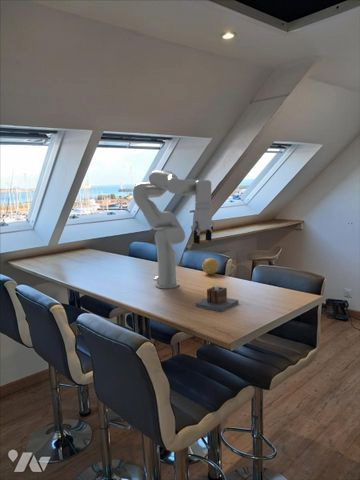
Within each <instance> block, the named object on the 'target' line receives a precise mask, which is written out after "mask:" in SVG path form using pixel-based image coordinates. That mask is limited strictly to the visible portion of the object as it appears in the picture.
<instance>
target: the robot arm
mask: <svg viewBox="0 0 360 480" xmlns="http://www.w3.org/2000/svg"><path fill="white" fill-rule="evenodd" d="M148 181H149V182H140V183H137V184H135V186H133V189H132V197H133V199H134V202H135V204H136V206H137V207H138V208H139V209H140V211H141V212H142V214H143V216H144V218H145V219H146V221H147V223H148V225H149V227H150V228H151V229H153V230H154V231H155V230H156V232H155V233H154V241H155V246H156V255H157V273H158V276H155V277H154V278H153V280H154V281H156V283H155V287H156V288H159V289H165V290H166V289H168V290H169V289H174V288H177V287H179V285H180V283H179V282H178V281H177V274H176V252H175V250H174V248H173V245H178V244H182V243H183V242H184V241H185V239H186V233H185V230H184V228H183V227H182V225H181V223H180V222H179V219H178V218H177V217H176V215H175V214H174V213H173V212H172V211H162V210H161V211H160V209H159V208H158V206H157V204H155V202H154V201H153V200H151V198H160V197H162V196H163V195H164V194H166V192H167V191H168V192H169V193H171V194H173V195H176V196H183V197H184V196H194V198H195V199H194V201H195V203H194V207H195V208H194V210H193V217H192V225H191V226H190V229H191V233H192V236H193V244H198V245H199V244H200V243H201V241H200V240H201V239H200V237H201V236H200V233H201V232H203V231H206V232H205V240H206V241H209V242H211V241H212V237H213V236H212V235H213V234H212V233H213V230H214V225H215V223H214V221H213V217H212V216H213V215H212V181H210V180H208V179H207V180H206V179H190V178H189V179H180V178H178V176H177V175H176V174H175V173H173V172H172V171H170V170H153V171H152V172H150V174H149V176H148Z"/></svg>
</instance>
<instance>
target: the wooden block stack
mask: <svg viewBox="0 0 360 480" xmlns="http://www.w3.org/2000/svg"><path fill="white" fill-rule="evenodd" d="M215 286H216V285H215ZM215 286H212V287H209V288H207V289H206V298H207V302H208V303H213V304H216V303H217V304H218V305H220V304H222V303H224V302H226V301H227V298H228V295H227V293H228V291H227V290H228V288H227V287H222V286H219V290H218V291H217V290H215Z"/></svg>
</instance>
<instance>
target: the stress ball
mask: <svg viewBox="0 0 360 480" xmlns="http://www.w3.org/2000/svg"><path fill="white" fill-rule="evenodd" d="M201 269H202V271H203V272H204V273H205V274H207V275H209V276H211V275H214V274H215V273H217V272H218V270H219V263H218V261H217V260H216V259H215V258H213V257H209V258H205V259H204V260H203V261H202V265H201Z"/></svg>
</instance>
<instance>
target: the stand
mask: <svg viewBox="0 0 360 480" xmlns="http://www.w3.org/2000/svg"><path fill="white" fill-rule="evenodd" d="M219 287H220V286H219V285H215V290H217V291H218V290H219ZM194 303H195V304H194V305H195V307H197V308H200V309H207V310H211V311H216V312H220V313H224V312H225V311H227V310H229V309H231V308H232V307H234V306H236V305H238V304H239V299H235V298H229V297H227V301H226V302H224V303H222V304H220V305H218V304H217V303H216V304H213V303H208V302H207V297H206V298H204V299H202V300H199V301H198V302H194Z"/></svg>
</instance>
